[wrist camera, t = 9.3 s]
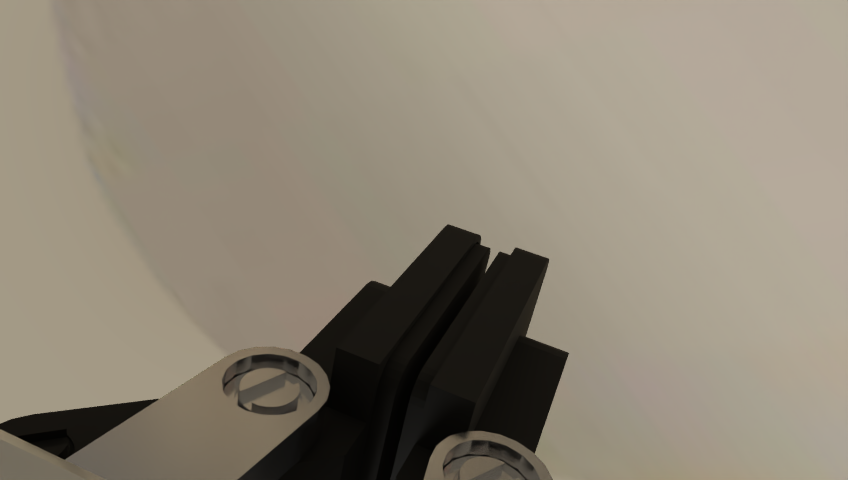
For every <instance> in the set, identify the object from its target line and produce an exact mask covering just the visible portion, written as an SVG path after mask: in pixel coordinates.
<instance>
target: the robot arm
mask: <svg viewBox="0 0 848 480" xmlns="http://www.w3.org/2000/svg"><path fill="white" fill-rule="evenodd" d="M480 243H481V236H480V235H478V234H475V233H472V232H469V231H466V230H463V229H460V228H457V227H454V226H451V225H449V224H448V225H446V226H445V227H444V228H443V230H442V231H441V232H440V233H439V234H438V235H437V236H436V237H435V238H434V240H433V241H432V242H431V243H430V244H429V245H428V246H427V247H426V248H425V250H424V251H423V252H422V253H421V254H420V255H419V256H418V257H417V258H416V260H415V261H414V262H413V263H412V264H411V265H410V266H409V267H408V268H407V269H406V271H405V272H404V273H403V274H402V275H401V276H400V277H399V278H398V279H397V281H396V282H395V283H394V284H393V285H392V286H391V287H389V286H387V285H384V284H381V283H378V282H376V281H371V282H369V283H368V284H366V285H365V286H364V287H363V289H362V290H361V291H360V292H359V293H358V294H357V295H356V296H355V297H354V298H353V299H352V300H351V301H350V302H349V303H348V304H347V305H346V306H345V307H344V308H343V309H342V310H341V311H340V312H339V313H338V314H337V315H336V316H335V317H334V318H333V319H332V320H331V321H330V322H329V323H328V324H327V325H326V326H325V327H324V328H323V329H322V330H321V331H320V333H319V334H318V335H317V336H316V337H315V338H314V339H313V340H312V341H311V342H310V343H309V344H308V345H307V346H306V347H305V348H304V349H303V350H302V351H301V352H300V353H298V352H295V351H293V350H289V349H283V348H278V347H254V348H249V349H244V350H239V351H237V352H235V353H233V354H231V355H228V356H226V357H224V358H223V359H221V360H220V361H218V362H217V363H215V364H213V365H212V366H210V367H209V368H207V369H206V370H204V371H202V372H201V373H199V374H198V375H196V376H195V377H193V378H192V379H190V380H188V381H187V382H185V383H184V384H182V385H181V386H179V387H178V388H176V389H174V390H173V391H171V392H170V393H168V394H167V395H165V396H163V397H162V398H160V399H153V400H145V401H138V402H129V403H121V404H113V405H105V406H97V407H89V408H81V409H73V410H65V411H57V412H49V413H41V414H33V415H28V416H24V417H20V418H15V419H11V420H8V421H6V422H4V423H1V424H0V480H553V479H552V477H551V475H550V473H549V471H548V469H547V468H546V466H545V465H544V463H543V462H542V461H541V460H540V459H539V458H538V457H537V456H536V455H535V451H536V448H537V445H538V442H539V439H540V436H541V433H542V430H543V427H544V424H545V421H546V419H547V416H548V413H549V410H550V407H551V404H552V401H553V398H554V395H555V392H556V389H557V386H558V383H559V381H560V378H561V375H562V372H563V369H564V366H565V363H566V360H567V357H568V354H569V353H568V352H565V351H562V350H560V349H557V348H554V347H551V346H549V345H546V344H543V343H541V342H538V341H535V340H533V339H530V338H527V337H526V334H527V330H528V327H529V324H530V321H531V318H532V315H533V311H534V308H535V305H536V302H537V299H538V296H539V292H540V289H541V286H542V283H543V280H544V277H545V273H546V270H547V267H548V263H549V259H548V258H545V257H542V256H539V255H536V254H533V253H530V252H528V251H525V250H522V249H519V248H515V249H514V251H513V252H512V254H511V255H508V254H505V253H502V252H499V253H498V255H497V256H496V258H495V259H494V261H493V262H492V264H491V265H490V267H489V268H488V270H487V271H486V267H487V263H488V259H489V255H490V248H488V247H485V246H482V245H480ZM485 271H486V273H485Z"/></svg>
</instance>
